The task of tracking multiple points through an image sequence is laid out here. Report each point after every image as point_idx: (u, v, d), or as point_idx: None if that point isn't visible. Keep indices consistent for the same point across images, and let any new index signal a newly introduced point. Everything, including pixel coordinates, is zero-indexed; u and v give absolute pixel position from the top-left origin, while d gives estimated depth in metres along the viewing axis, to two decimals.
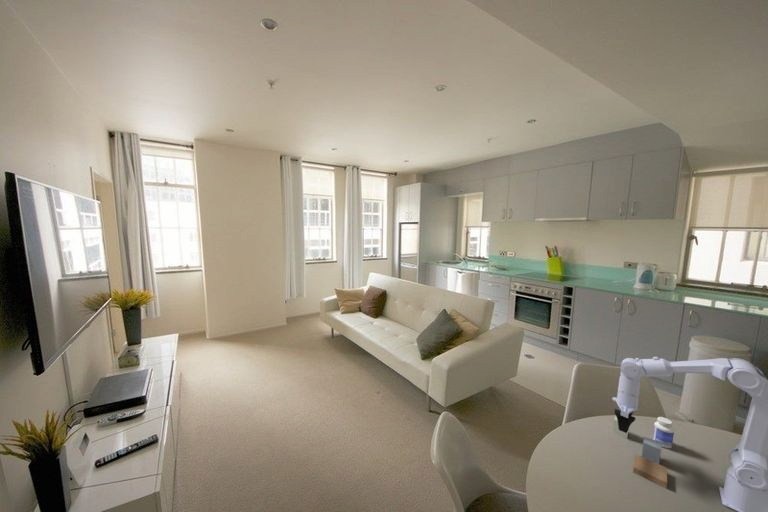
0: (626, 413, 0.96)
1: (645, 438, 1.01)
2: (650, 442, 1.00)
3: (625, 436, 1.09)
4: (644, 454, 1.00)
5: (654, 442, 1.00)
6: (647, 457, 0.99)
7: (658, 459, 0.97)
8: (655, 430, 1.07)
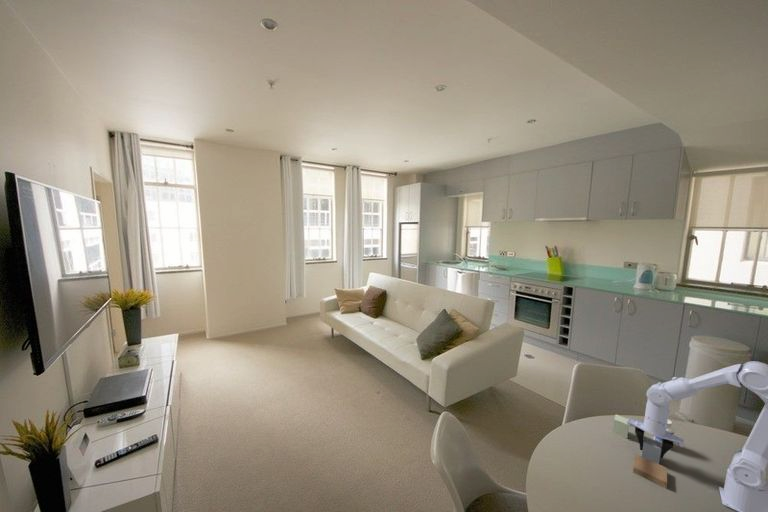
0: (627, 420, 1.04)
1: (645, 438, 1.01)
2: (650, 441, 1.00)
3: (625, 436, 1.09)
4: (644, 454, 1.00)
5: (654, 441, 1.00)
6: (647, 457, 0.99)
7: (658, 459, 0.97)
8: None
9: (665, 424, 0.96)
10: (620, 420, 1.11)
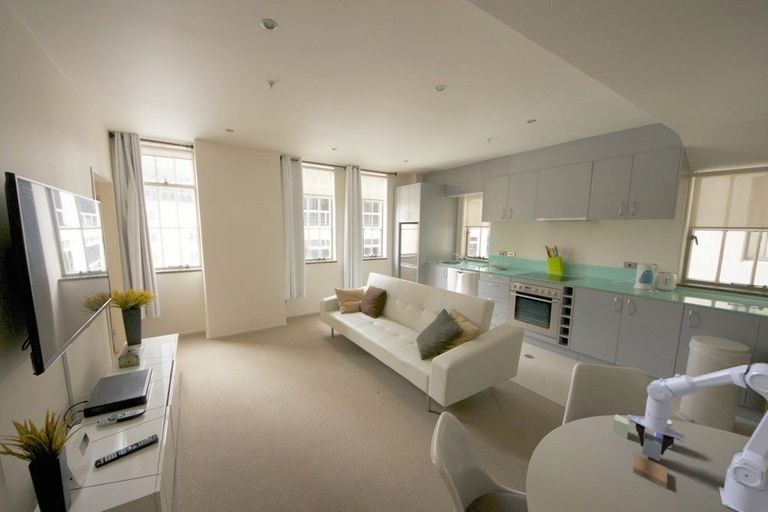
0: None
1: (645, 434, 1.01)
2: (651, 437, 1.00)
3: (625, 436, 1.09)
4: (645, 450, 0.99)
5: (655, 437, 1.00)
6: (648, 453, 0.99)
7: (659, 455, 0.97)
8: None
9: (666, 420, 0.96)
10: (620, 420, 1.11)
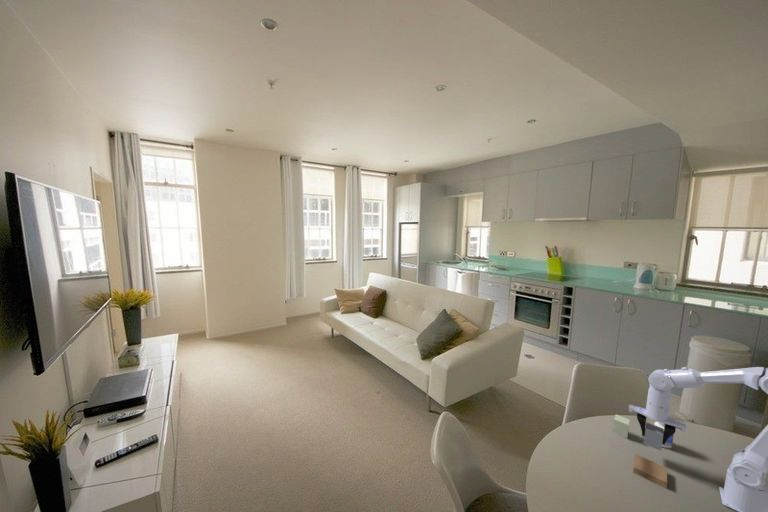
0: (629, 407, 1.03)
1: (647, 424, 1.01)
2: (652, 427, 0.99)
3: (625, 436, 1.09)
4: (646, 440, 0.99)
5: (656, 427, 0.99)
6: (649, 443, 0.98)
7: (660, 444, 0.96)
8: None
9: (667, 409, 0.95)
10: (620, 420, 1.11)
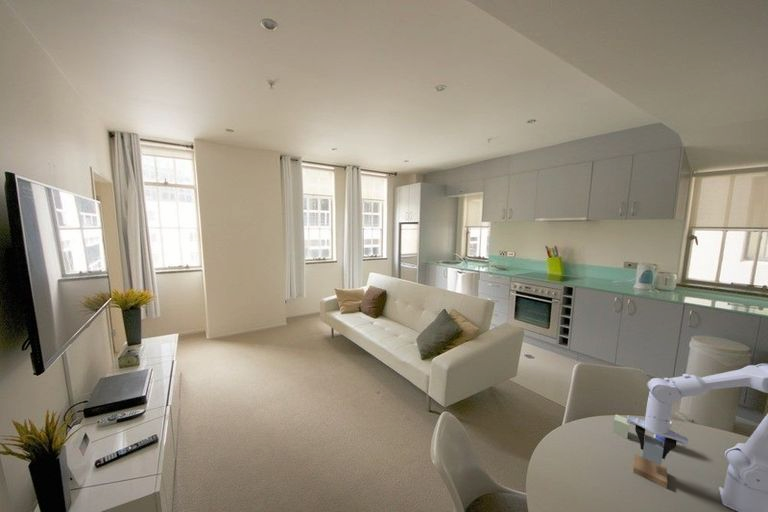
0: (627, 418, 0.97)
1: (646, 436, 0.95)
2: (651, 440, 0.93)
3: (625, 436, 1.09)
4: (645, 453, 0.93)
5: (656, 440, 0.93)
6: (648, 457, 0.92)
7: (660, 459, 0.90)
8: None
9: (668, 421, 0.89)
10: (620, 420, 1.11)
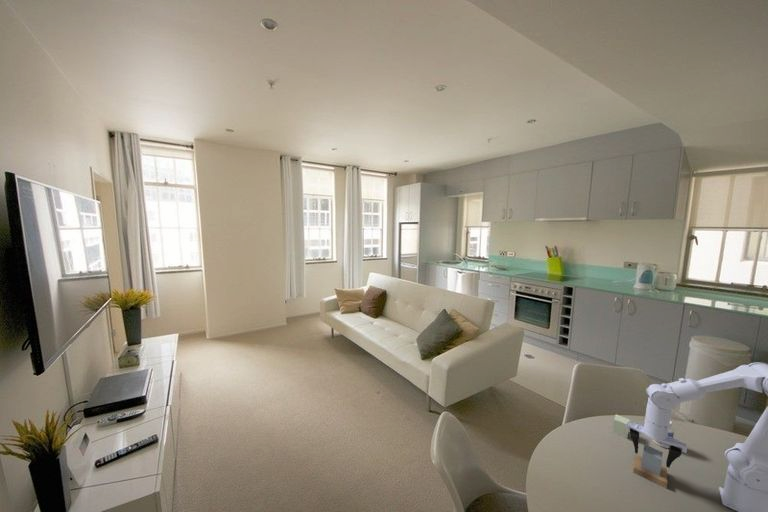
0: (626, 423, 0.97)
1: (645, 447, 0.95)
2: (650, 451, 0.93)
3: (625, 436, 1.09)
4: (644, 464, 0.93)
5: (655, 451, 0.93)
6: (647, 467, 0.92)
7: (659, 469, 0.90)
8: None
9: (667, 428, 0.89)
10: (620, 420, 1.11)
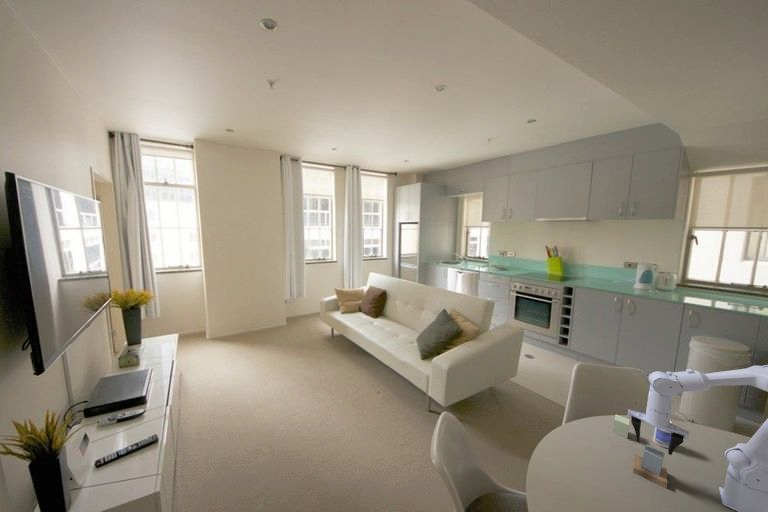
0: None
1: (646, 446, 0.95)
2: (652, 451, 0.93)
3: (625, 436, 1.09)
4: (644, 463, 0.93)
5: (656, 451, 0.93)
6: (647, 466, 0.93)
7: (659, 469, 0.90)
8: (655, 430, 1.07)
9: (669, 415, 0.89)
10: (620, 420, 1.11)
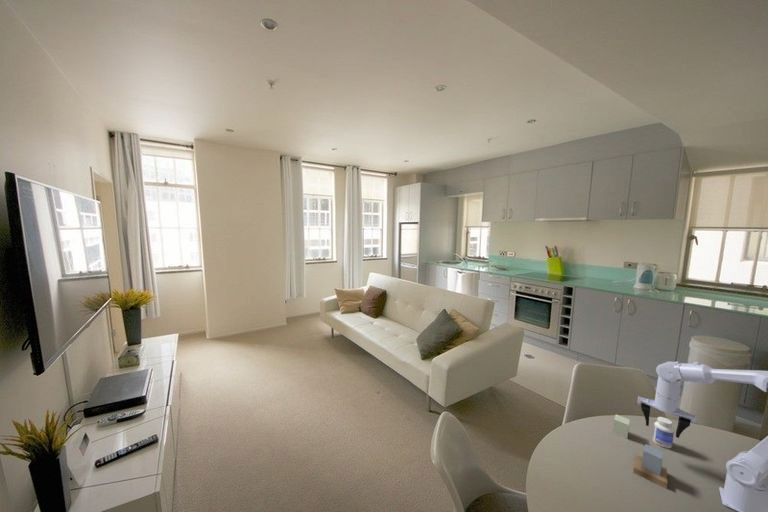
0: None
1: (646, 446, 0.95)
2: (651, 450, 0.93)
3: (625, 436, 1.09)
4: (644, 463, 0.93)
5: (656, 450, 0.93)
6: (647, 466, 0.93)
7: (659, 469, 0.91)
8: (655, 430, 1.07)
9: (676, 400, 0.96)
10: (620, 420, 1.11)
